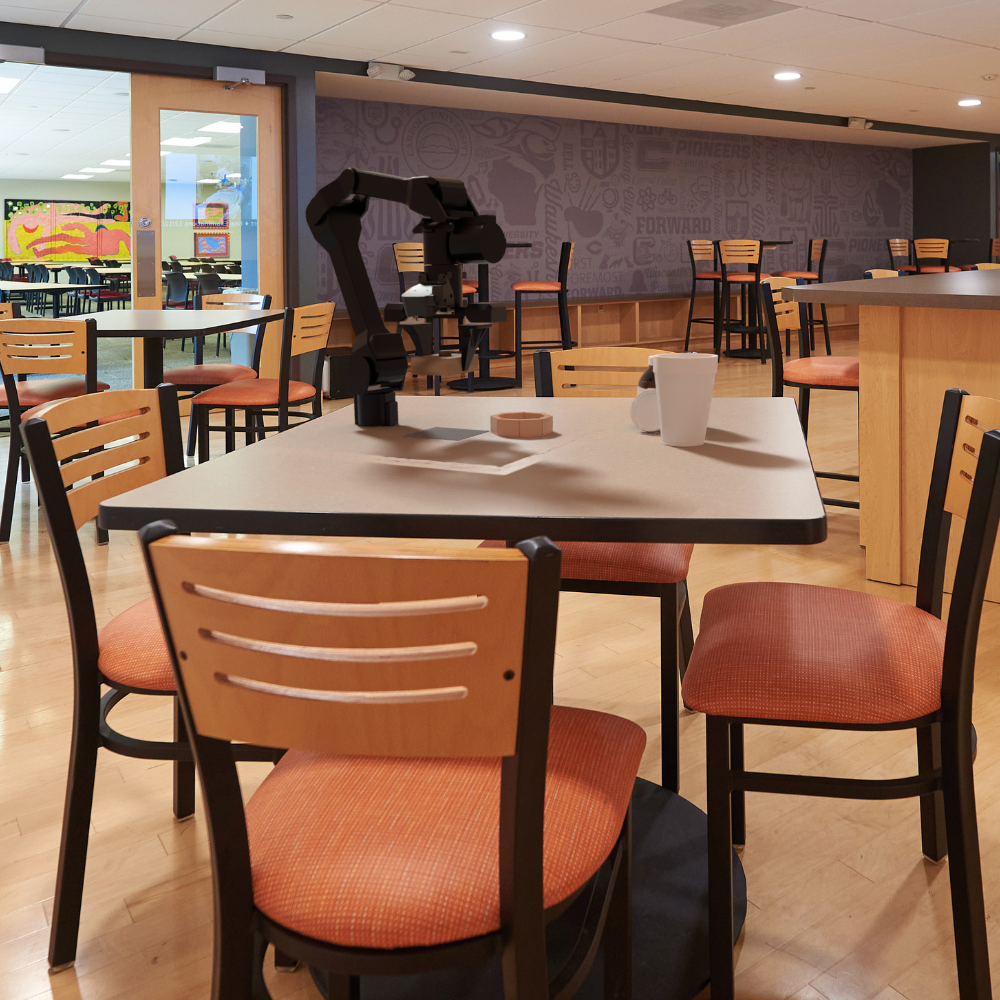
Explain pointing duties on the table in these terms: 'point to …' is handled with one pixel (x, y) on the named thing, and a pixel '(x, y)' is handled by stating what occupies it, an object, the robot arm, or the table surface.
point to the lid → (441, 364)
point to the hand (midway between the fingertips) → (445, 370)
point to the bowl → (521, 424)
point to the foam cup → (684, 396)
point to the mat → (446, 433)
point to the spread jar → (646, 402)
